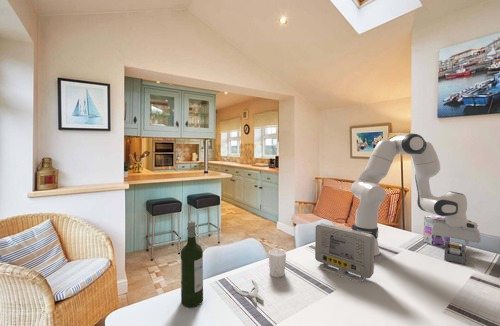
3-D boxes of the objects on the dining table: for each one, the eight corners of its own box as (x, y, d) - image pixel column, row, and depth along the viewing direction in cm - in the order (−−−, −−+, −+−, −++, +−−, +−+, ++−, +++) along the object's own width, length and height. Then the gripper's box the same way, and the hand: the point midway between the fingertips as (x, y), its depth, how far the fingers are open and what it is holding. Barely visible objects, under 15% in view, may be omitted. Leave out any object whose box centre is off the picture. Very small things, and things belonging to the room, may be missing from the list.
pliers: (253, 278, 101) (271, 297, 87) (253, 281, 101) (271, 301, 88) (231, 283, 97) (247, 305, 83) (231, 287, 97) (247, 309, 83)
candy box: (432, 245, 139) (433, 218, 138) (422, 241, 145) (423, 215, 144) (450, 243, 142) (451, 216, 142) (440, 239, 148) (441, 214, 147)
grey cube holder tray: (444, 260, 121) (444, 254, 120) (444, 247, 136) (445, 242, 136) (465, 264, 115) (465, 258, 115) (463, 251, 131) (463, 246, 131)
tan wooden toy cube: (449, 252, 129) (449, 244, 129) (449, 250, 132) (449, 241, 132) (458, 255, 127) (459, 245, 126) (458, 252, 130) (459, 243, 129)
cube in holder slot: (449, 259, 122) (449, 249, 121) (449, 256, 125) (449, 247, 124) (459, 261, 119) (460, 251, 119) (459, 258, 122) (459, 249, 122)
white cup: (287, 271, 109) (288, 250, 108) (282, 279, 102) (283, 257, 101) (271, 268, 112) (272, 247, 112) (265, 275, 105) (266, 254, 105)
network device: (375, 278, 103) (376, 233, 102) (368, 286, 97) (370, 238, 96) (320, 259, 121) (321, 221, 120) (312, 265, 114) (312, 225, 113)
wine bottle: (186, 294, 92) (185, 218, 90) (205, 295, 91) (205, 218, 89) (177, 307, 84) (176, 224, 82) (199, 309, 83) (198, 225, 81)
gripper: (431, 219, 133) (430, 242, 134) (481, 226, 120) (480, 253, 120) (431, 216, 138) (430, 239, 138) (480, 223, 125) (479, 249, 125)
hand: (454, 246), depth 129 cm, fingers open, 6 cm apart
